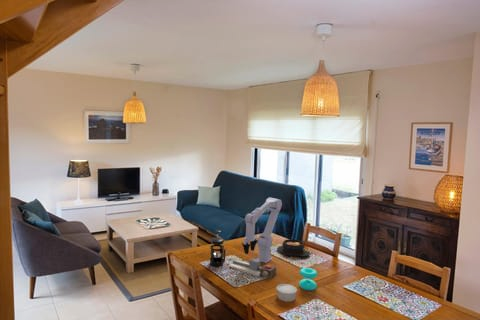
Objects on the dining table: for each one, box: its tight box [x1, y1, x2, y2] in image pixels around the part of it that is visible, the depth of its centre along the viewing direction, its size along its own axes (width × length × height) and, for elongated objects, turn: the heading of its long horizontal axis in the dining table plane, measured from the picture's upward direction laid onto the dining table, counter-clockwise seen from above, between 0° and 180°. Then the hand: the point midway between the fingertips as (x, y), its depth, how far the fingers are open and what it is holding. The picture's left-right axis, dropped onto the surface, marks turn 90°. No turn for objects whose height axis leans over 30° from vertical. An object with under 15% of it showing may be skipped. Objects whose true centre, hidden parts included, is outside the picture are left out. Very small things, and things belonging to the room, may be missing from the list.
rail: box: [228, 259, 262, 277], centre depth 213 cm, size 10×22×3 cm, turn 58°
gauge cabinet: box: [259, 263, 277, 280], centre depth 205 cm, size 8×7×5 cm
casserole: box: [276, 238, 311, 257], centre depth 245 cm, size 25×19×8 cm
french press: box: [209, 229, 227, 268], centre depth 218 cm, size 12×9×23 cm
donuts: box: [298, 267, 318, 291], centre depth 191 cm, size 10×10×10 cm
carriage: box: [248, 258, 262, 270], centre depth 210 cm, size 4×6×5 cm, turn 57°
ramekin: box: [275, 283, 298, 303], centre depth 178 cm, size 11×11×5 cm
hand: (249, 252), depth 217 cm, fingers open, 7 cm apart
